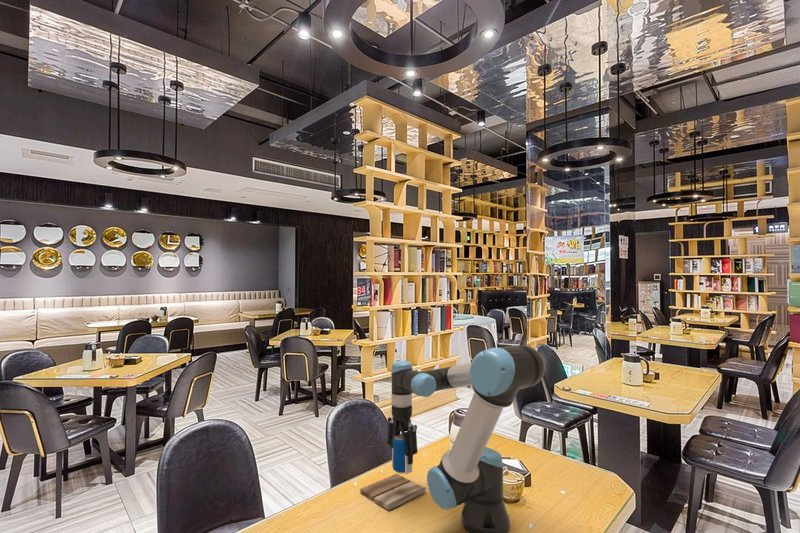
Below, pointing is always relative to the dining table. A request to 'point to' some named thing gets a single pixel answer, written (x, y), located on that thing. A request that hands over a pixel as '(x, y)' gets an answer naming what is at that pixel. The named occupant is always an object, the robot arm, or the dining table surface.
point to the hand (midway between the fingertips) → (401, 469)
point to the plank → (399, 495)
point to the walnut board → (383, 486)
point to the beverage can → (399, 454)
